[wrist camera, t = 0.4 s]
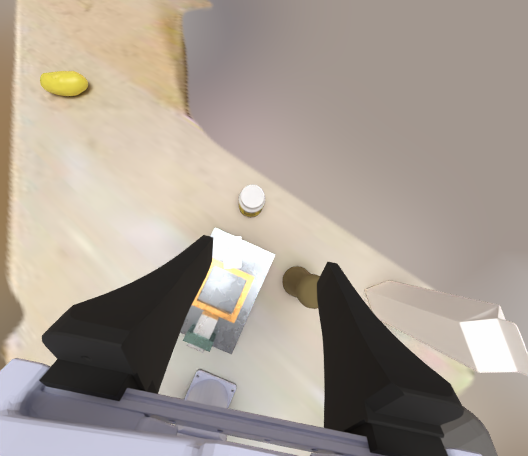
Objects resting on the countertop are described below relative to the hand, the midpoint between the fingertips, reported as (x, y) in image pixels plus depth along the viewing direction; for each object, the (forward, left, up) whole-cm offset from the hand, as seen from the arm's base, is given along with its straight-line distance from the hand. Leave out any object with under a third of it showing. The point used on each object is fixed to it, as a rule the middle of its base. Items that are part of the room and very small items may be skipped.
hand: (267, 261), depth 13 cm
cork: (-2, -11, -29) cm, 31 cm away
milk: (+2, -29, -29) cm, 41 cm away
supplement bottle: (+8, +4, -29) cm, 30 cm away
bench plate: (-9, +2, -28) cm, 30 cm away
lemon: (+14, +46, -29) cm, 56 cm away
